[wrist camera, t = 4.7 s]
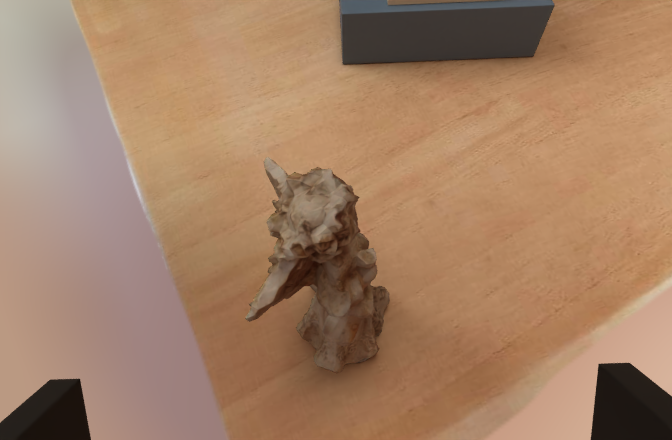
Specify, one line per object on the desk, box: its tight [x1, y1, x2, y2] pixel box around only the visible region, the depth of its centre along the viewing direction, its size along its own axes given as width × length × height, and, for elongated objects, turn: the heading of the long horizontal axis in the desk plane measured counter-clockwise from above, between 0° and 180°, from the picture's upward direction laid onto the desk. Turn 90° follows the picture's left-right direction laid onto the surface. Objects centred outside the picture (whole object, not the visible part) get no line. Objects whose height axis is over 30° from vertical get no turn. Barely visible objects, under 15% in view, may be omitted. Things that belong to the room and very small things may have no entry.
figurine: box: [245, 157, 390, 373], centre depth 20 cm, size 7×6×15 cm
